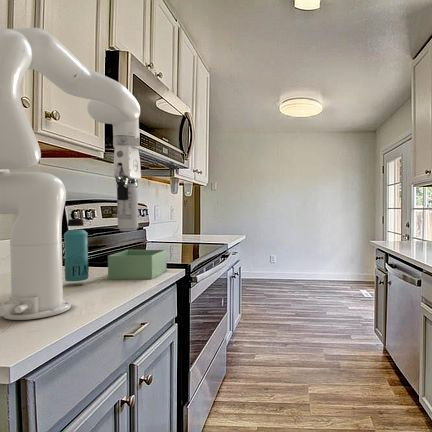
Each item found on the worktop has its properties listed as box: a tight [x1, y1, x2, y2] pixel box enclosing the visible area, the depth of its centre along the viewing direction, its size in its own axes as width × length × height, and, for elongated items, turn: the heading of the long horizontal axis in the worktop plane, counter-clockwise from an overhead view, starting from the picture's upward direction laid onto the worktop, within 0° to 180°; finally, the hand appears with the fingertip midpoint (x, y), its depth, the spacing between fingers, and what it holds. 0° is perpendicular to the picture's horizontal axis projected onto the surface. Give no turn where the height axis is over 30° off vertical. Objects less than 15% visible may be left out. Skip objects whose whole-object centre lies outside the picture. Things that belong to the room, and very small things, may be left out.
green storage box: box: [107, 249, 168, 280], centre depth 124 cm, size 15×14×8 cm
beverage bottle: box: [63, 218, 90, 283], centre depth 108 cm, size 6×7×20 cm
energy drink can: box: [116, 183, 139, 232], centre depth 114 cm, size 6×6×15 cm
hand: (127, 199), depth 114 cm, fingers closed on energy drink can, 6 cm apart
